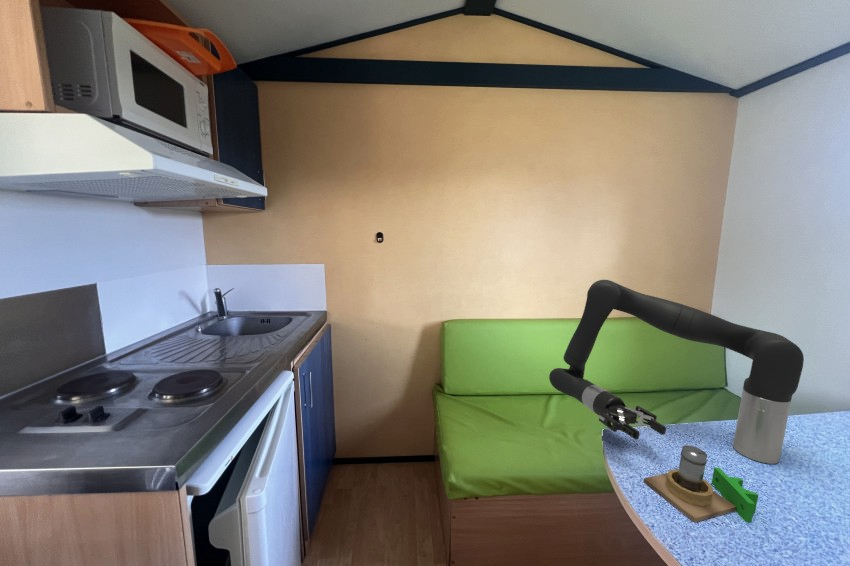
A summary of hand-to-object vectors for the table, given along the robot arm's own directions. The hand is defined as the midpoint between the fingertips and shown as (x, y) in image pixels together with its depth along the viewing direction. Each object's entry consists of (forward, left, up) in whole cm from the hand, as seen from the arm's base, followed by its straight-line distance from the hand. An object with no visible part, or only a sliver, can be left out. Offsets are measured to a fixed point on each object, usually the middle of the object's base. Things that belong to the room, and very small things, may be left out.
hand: (651, 433), depth 87 cm
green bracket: (-9, +15, -9) cm, 20 cm away
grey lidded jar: (0, +10, -8) cm, 13 cm away
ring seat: (0, +10, -9) cm, 14 cm away
